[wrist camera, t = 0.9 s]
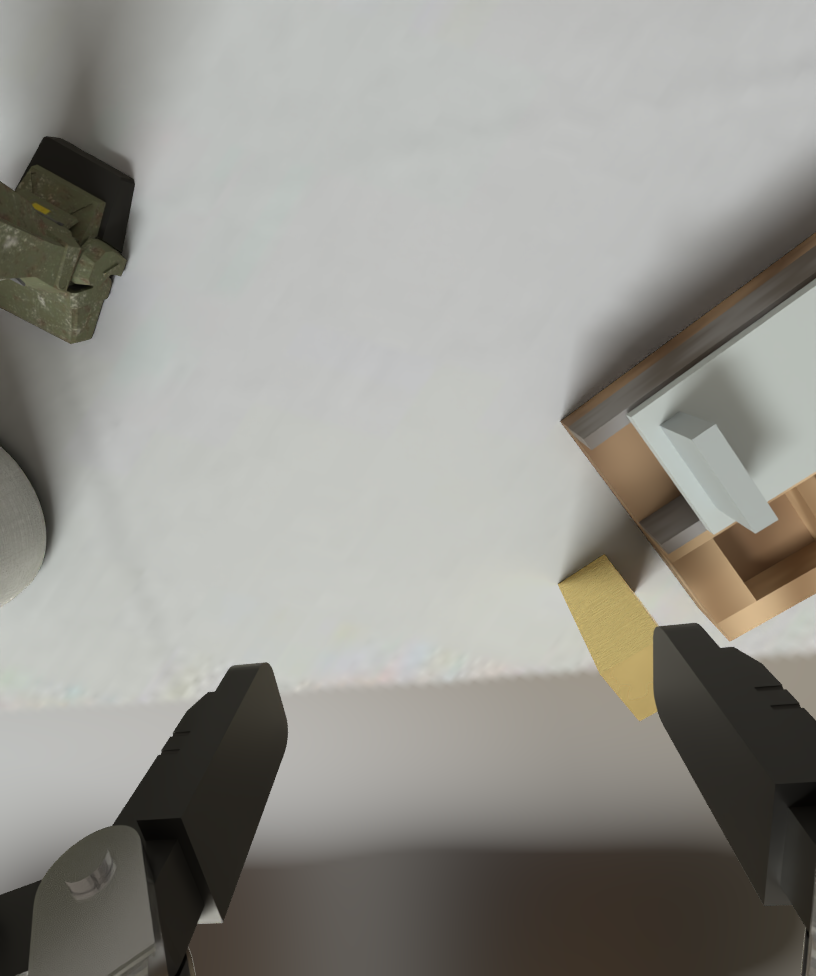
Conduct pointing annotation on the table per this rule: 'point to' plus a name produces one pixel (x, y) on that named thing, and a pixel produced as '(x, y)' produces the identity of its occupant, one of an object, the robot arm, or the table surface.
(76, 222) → the mechanical leg
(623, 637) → the pin
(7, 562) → the planter
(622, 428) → the board
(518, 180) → the table surface
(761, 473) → the lid
